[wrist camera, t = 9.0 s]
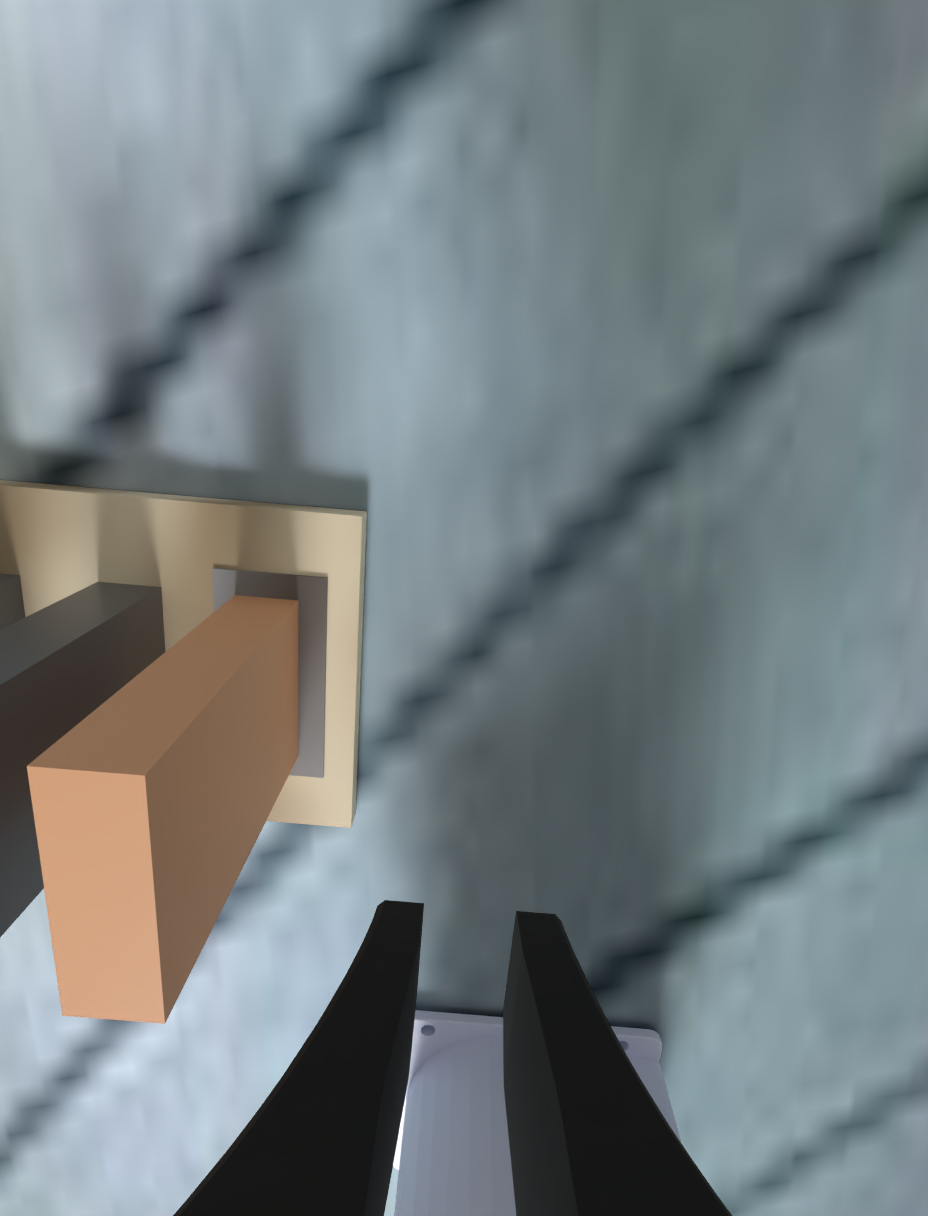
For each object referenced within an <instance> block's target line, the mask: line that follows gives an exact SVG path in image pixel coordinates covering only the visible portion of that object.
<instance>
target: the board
mask: <svg viewBox="0 0 928 1216" xmlns="http://www.w3.org/2000/svg"><path fill="white" fill-rule="evenodd" d="M366 522H367V511H356V510H344V509H333V508H321V507H309V506H298V505H286V504H275V503H263V502H251V501H240V500H228V499H216V498H205V497H193V496H181V495H170V494H158V493H146V492H135V491H123V490H111V489H100V488H88V487H77V486H65V485H53V484H42V483H30V482H18V481H7V480H0V573H2V574H14V575H20V579H21V587H22V594H23V602H24V610H25V617H27V616H29V615H31V614H33V613H35V612H37V611H39V610H41V609H43V608H45V607H47V606H49V605H51V604H53V603H55V602H57V601H59V600H62V599H64V598H66V597H68V596H70V595H72V594H74V593H76V592H78V591H80V590H82V589H84V588H86V587H88V586H90V585H92V584H94V583H96V582H108V583H120V584H132V585H143V586H155V587H162V603H163V620H164V636H165V652H166V651H167V650H169V649H170V648H171V647H172V646H173V645H175V644H176V643H177V642H178V641H180V640H181V639H182V638H183V637H184V636H186V635H187V634H188V633H189V632H190V631H192V630H193V629H194V628H195V627H197V626H198V625H199V624H200V623H201V622H203V621H204V620H205V619H206V618H207V617H209V616H210V615H211V614H212V613H214V612H215V611H216V610H217V609H218V608H220V607H221V606H222V605H223V604H225V603H226V602H227V601H228V600H229V599H231V598H232V597H233V596H234V595H238V596H251V597H263V598H275V599H288V600H298V758H297V760H296V762H295V764H294V766H293V768H292V770H291V772H290V774H289V776H288V778H287V780H286V782H285V784H284V786H283V788H282V790H281V792H280V794H279V796H278V798H277V800H276V802H275V804H274V806H273V808H272V810H271V812H270V814H269V816H268V818H267V820H266V821H275V822H287V823H299V824H311V825H323V826H335V827H347V828H351V827H352V823H353V820H354V817H355V813H356V789H357V763H358V736H359V709H360V682H361V656H362V629H363V602H364V575H365V549H366Z"/></svg>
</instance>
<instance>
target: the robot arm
mask: <svg viewBox="0 0 928 1216" xmlns="http://www.w3.org/2000/svg"><path fill="white" fill-rule="evenodd" d="M423 909H424V903H412V902H400V901H388V900H385V901H384V902H382V903H381V904H379V905H378V906H377V909H376V912H375V915H374V918H373V920H372V923H371V925H370V927H369V930H368V932H367V934H366V936H365V938H364V941H363V943H362V945H361V947H360V949H359V951H358V953H357V955H356V957H355V958H354V960H353V962H352V964H351V966H350V968H349V970H348V972H347V974H346V975H345V977H344V979H343V981H342V982H341V984H340V986H339V988H338V989H337V991H336V993H335V994H334V996H333V998H332V1000H331V1001H330V1003H329V1005H328V1006H327V1008H326V1010H325V1012H324V1013H323V1015H322V1017H321V1018H320V1020H319V1022H318V1023H317V1025H316V1026H315V1028H314V1029H313V1031H312V1032H311V1034H310V1035H309V1037H308V1038H307V1040H306V1042H305V1043H304V1045H303V1046H302V1048H301V1049H300V1051H299V1052H298V1054H297V1055H296V1057H295V1058H294V1060H293V1061H292V1063H291V1064H290V1066H289V1067H288V1069H287V1070H286V1072H285V1073H284V1075H283V1076H282V1078H281V1079H280V1081H279V1082H278V1083H277V1085H276V1086H275V1088H274V1089H273V1090H272V1092H271V1093H270V1095H269V1096H268V1097H267V1099H266V1100H265V1102H264V1103H263V1104H262V1106H261V1107H260V1108H259V1110H258V1111H257V1112H256V1114H255V1115H254V1116H253V1118H252V1119H251V1120H250V1122H249V1123H248V1124H247V1126H246V1127H245V1128H244V1130H243V1131H242V1132H241V1133H240V1135H239V1136H238V1137H237V1139H236V1140H235V1141H234V1143H233V1144H232V1145H231V1146H230V1148H229V1149H228V1150H227V1152H226V1153H225V1154H224V1155H223V1156H222V1158H221V1159H220V1160H219V1161H218V1163H217V1164H216V1165H215V1166H214V1167H213V1169H212V1170H211V1171H210V1172H209V1173H208V1175H207V1176H206V1177H205V1178H204V1180H203V1181H202V1182H201V1183H200V1184H199V1186H198V1187H197V1188H196V1189H195V1191H194V1192H193V1193H192V1194H191V1195H190V1197H189V1198H188V1199H187V1200H186V1201H185V1203H184V1204H183V1205H182V1206H181V1207H180V1208H179V1210H178V1211H177V1212H176V1213H175V1214H174V1215H173V1216H384V1211H385V1206H386V1200H387V1195H388V1189H389V1184H390V1178H391V1173H392V1167H393V1166H394V1167H395V1168H396V1169H398V1170H399V1173H398V1183H397V1193H396V1202H395V1212H394V1216H732V1215H731V1213H730V1212H729V1211H728V1209H727V1208H726V1207H725V1205H724V1204H723V1203H722V1201H721V1200H720V1199H719V1197H718V1196H717V1194H716V1193H715V1192H714V1190H713V1189H712V1187H711V1186H710V1185H709V1183H708V1182H707V1180H706V1179H705V1177H704V1176H703V1174H702V1173H701V1172H700V1170H699V1169H698V1167H697V1166H696V1164H695V1163H694V1162H693V1160H692V1159H691V1157H690V1156H689V1154H688V1153H687V1151H686V1150H685V1148H684V1147H683V1145H682V1144H681V1140H680V1136H679V1133H678V1129H677V1125H676V1121H675V1118H674V1114H673V1110H672V1107H671V1103H670V1099H669V1096H668V1092H667V1088H666V1084H665V1081H664V1077H663V1073H662V1070H661V1066H660V1062H659V1060H660V1056H661V1051H662V1042H661V1039H660V1036H659V1034H658V1033H657V1032H655V1031H653V1030H650V1029H640V1028H628V1027H616V1026H610V1024H609V1022H608V1020H607V1018H606V1016H605V1015H604V1013H603V1011H602V1009H601V1007H600V1005H599V1003H598V1001H597V999H596V997H595V995H594V993H593V991H592V989H591V987H590V985H589V983H588V981H587V979H586V977H585V975H584V973H583V971H582V969H581V966H580V964H579V962H578V960H577V958H576V956H575V953H574V951H573V949H572V947H571V944H570V942H569V940H568V937H567V935H566V932H565V930H564V927H563V925H562V922H561V920H560V919H559V918H558V917H557V916H556V915H555V914H545V913H533V912H521V911H516V917H515V925H514V932H513V940H512V948H511V955H510V963H509V970H508V978H507V985H506V993H505V1001H504V1008H503V1017H494V1016H482V1015H469V1014H457V1013H445V1012H433V1011H421V1010H416V998H417V986H418V973H419V960H420V947H421V935H422V922H423ZM426 1025H431V1026H426Z"/></svg>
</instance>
